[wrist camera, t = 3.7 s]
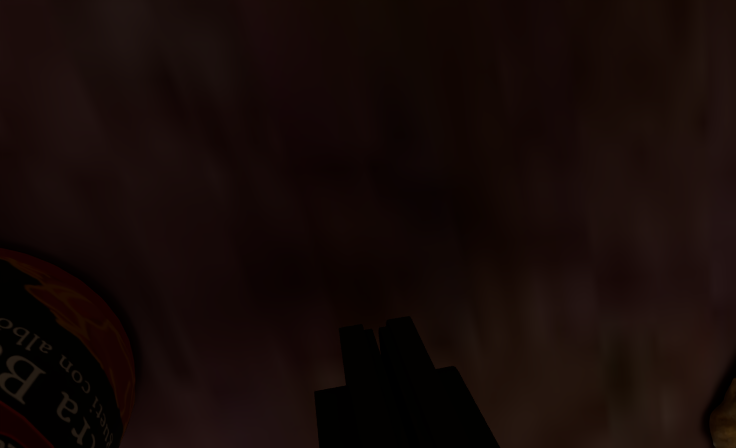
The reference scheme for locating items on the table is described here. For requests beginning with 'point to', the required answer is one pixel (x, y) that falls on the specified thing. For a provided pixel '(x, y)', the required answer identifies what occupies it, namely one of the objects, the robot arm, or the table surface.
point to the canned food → (60, 360)
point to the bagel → (725, 420)
